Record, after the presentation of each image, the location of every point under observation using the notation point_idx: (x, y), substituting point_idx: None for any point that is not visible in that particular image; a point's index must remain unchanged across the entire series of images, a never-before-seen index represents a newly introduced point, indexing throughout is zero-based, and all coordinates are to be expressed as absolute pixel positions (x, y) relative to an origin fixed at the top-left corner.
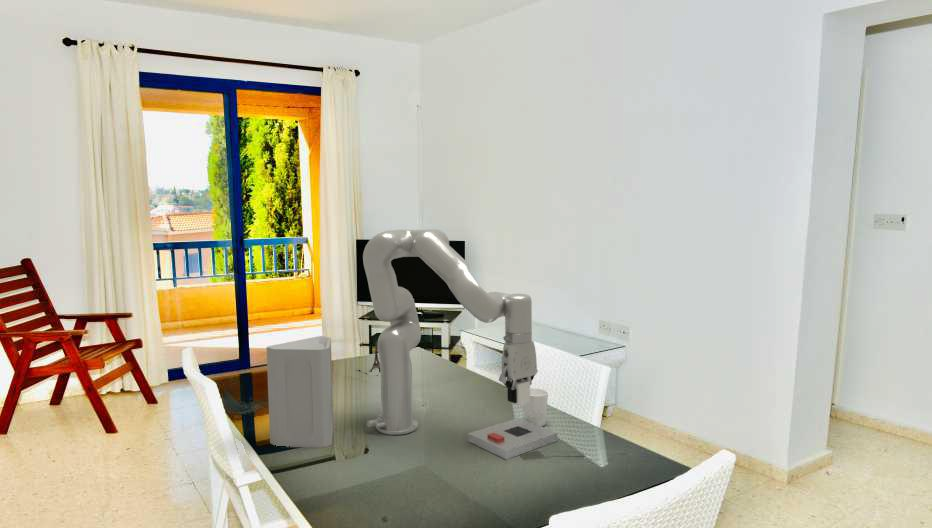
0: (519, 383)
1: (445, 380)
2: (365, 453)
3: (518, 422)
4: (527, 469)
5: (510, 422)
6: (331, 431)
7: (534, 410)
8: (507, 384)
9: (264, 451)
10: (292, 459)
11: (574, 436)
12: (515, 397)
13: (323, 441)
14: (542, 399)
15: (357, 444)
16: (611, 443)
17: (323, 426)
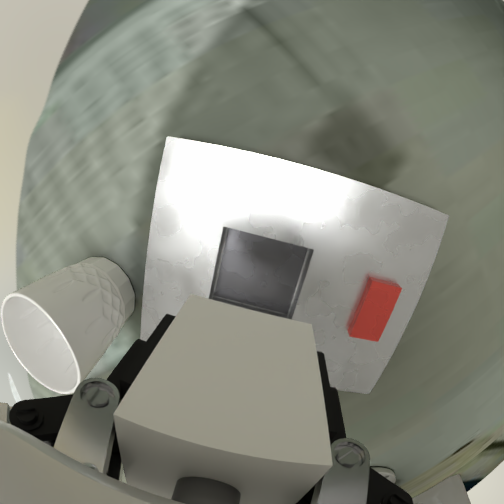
0: (291, 471)
1: None
2: (473, 440)
3: None
4: (450, 117)
5: None
6: (450, 492)
7: (98, 301)
8: (403, 494)
9: (475, 483)
10: (494, 459)
11: (111, 120)
12: (326, 378)
13: (460, 480)
14: (46, 294)
15: (442, 467)
16: (107, 17)
17: (466, 496)
